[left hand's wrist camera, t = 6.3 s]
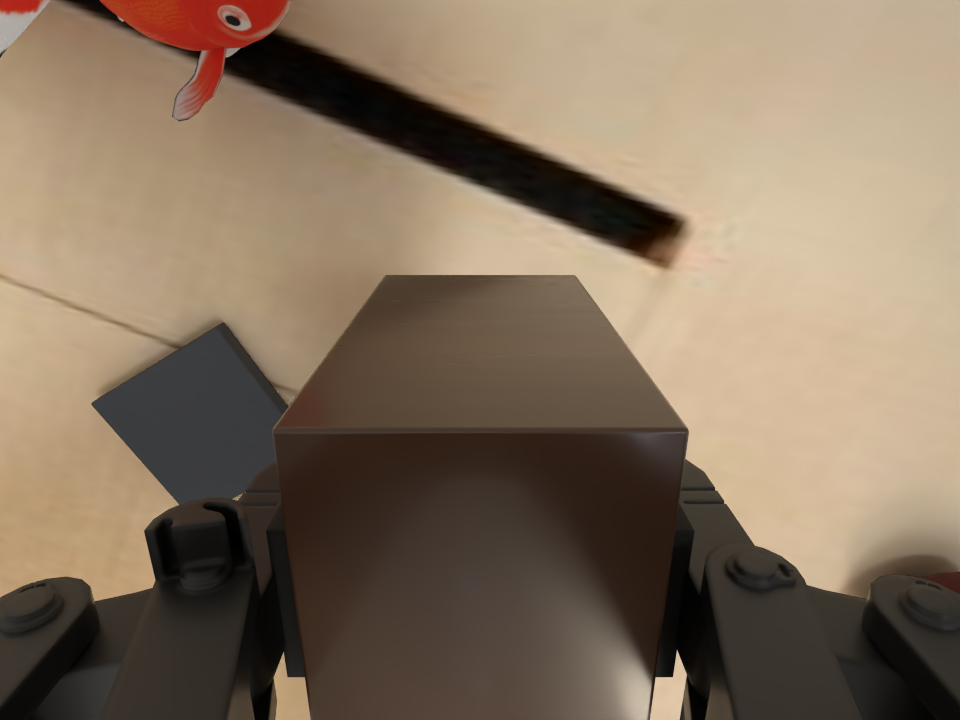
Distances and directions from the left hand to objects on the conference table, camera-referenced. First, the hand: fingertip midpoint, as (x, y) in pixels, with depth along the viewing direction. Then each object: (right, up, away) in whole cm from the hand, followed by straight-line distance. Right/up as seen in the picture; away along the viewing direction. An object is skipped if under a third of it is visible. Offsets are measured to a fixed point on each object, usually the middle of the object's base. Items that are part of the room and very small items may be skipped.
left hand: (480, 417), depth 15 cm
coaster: (-14, -2, +16) cm, 22 cm away
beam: (0, -9, +4) cm, 10 cm away
